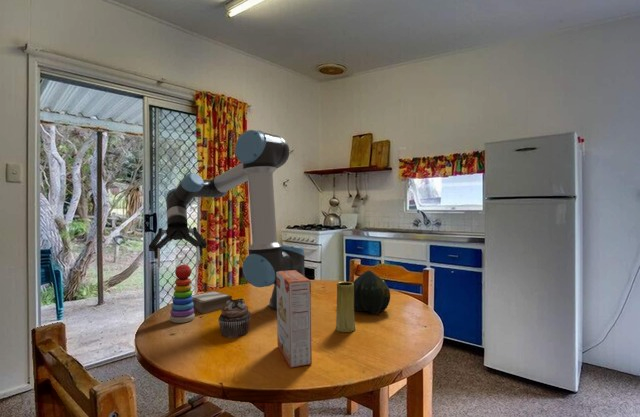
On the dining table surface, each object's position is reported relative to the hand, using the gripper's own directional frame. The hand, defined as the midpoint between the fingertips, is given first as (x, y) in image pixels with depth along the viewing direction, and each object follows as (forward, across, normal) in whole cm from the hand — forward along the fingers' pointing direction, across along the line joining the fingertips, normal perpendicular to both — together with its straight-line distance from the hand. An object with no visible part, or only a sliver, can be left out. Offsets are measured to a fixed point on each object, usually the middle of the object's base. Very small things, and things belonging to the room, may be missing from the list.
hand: (179, 263), depth 129 cm
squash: (+32, -63, +7) cm, 71 cm away
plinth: (+11, -10, -14) cm, 21 cm away
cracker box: (+50, -25, +24) cm, 61 cm away
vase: (+42, -46, +17) cm, 64 cm away
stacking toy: (+20, 0, -5) cm, 20 cm away
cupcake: (+34, -14, +8) cm, 37 cm away
